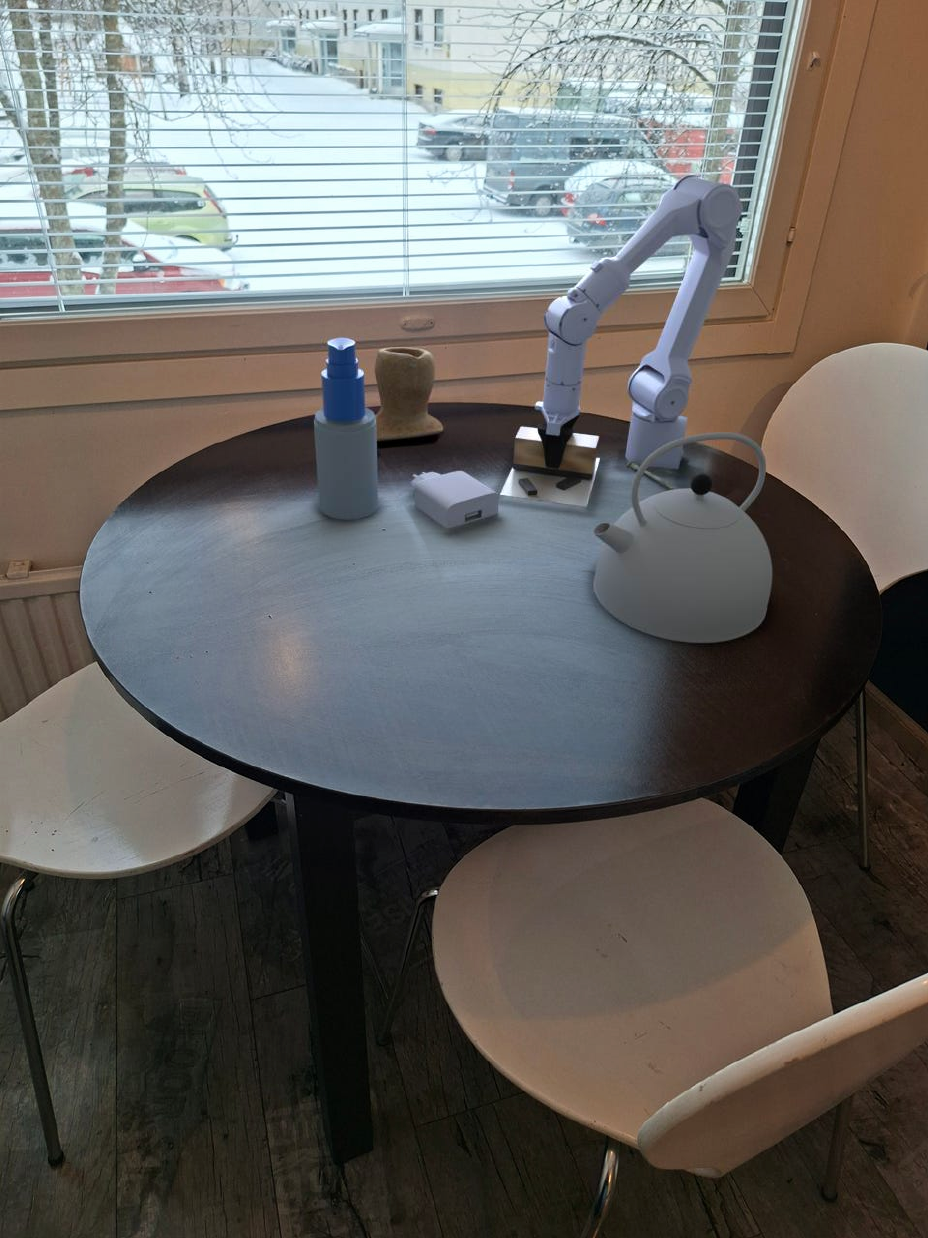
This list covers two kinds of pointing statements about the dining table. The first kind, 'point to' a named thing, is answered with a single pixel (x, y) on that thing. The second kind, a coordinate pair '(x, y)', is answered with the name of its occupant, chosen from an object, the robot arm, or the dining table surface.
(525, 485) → the dark grey rectangular block
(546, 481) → the whiteboard
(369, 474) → the spray bottle
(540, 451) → the eraser
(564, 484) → the black angular block
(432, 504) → the charger
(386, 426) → the stone cup
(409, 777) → the dining table surface
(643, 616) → the kettle
